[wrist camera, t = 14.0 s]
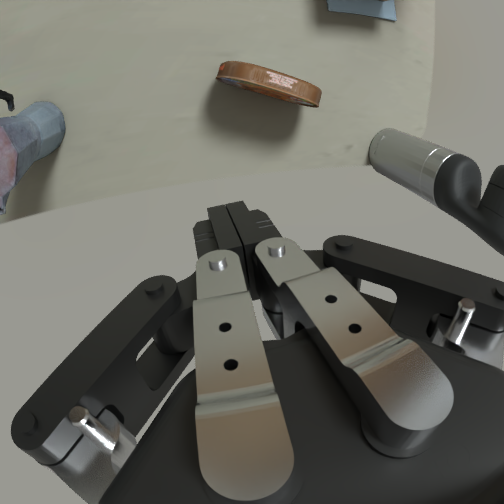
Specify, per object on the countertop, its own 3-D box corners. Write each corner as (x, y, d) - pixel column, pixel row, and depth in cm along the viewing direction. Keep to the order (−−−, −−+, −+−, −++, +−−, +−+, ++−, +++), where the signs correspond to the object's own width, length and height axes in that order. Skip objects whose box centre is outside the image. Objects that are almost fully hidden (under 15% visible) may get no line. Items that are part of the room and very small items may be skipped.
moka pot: (28, 180, 39) (-35, 238, 22) (8, 92, 30) (-70, 109, 14) (76, 164, 40) (23, 216, 23) (58, 71, 32) (-10, 69, 15)
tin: (211, 80, 39) (219, 79, 32) (217, 61, 38) (226, 55, 31) (303, 107, 44) (327, 112, 37) (309, 89, 43) (334, 92, 36)
